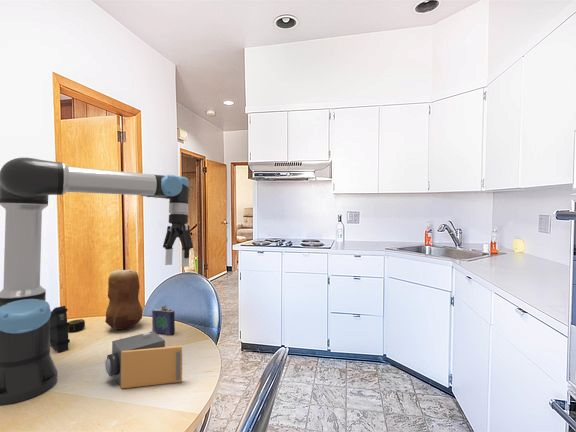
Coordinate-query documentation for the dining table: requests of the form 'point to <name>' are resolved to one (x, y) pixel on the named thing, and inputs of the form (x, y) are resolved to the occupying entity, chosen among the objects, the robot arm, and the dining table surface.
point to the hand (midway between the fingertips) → (176, 265)
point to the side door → (151, 366)
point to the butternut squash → (123, 300)
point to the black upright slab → (59, 329)
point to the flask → (163, 321)
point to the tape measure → (76, 325)
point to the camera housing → (130, 343)
